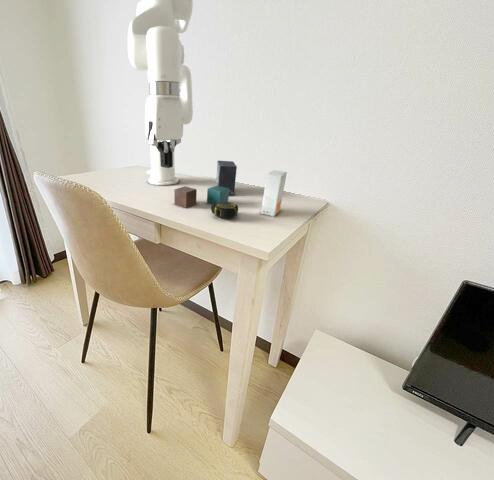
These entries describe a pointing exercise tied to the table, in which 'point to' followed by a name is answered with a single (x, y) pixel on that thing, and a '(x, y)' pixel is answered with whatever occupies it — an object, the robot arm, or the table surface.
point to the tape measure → (225, 210)
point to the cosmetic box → (273, 192)
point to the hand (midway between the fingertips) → (166, 166)
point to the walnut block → (185, 196)
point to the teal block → (217, 195)
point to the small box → (226, 175)
